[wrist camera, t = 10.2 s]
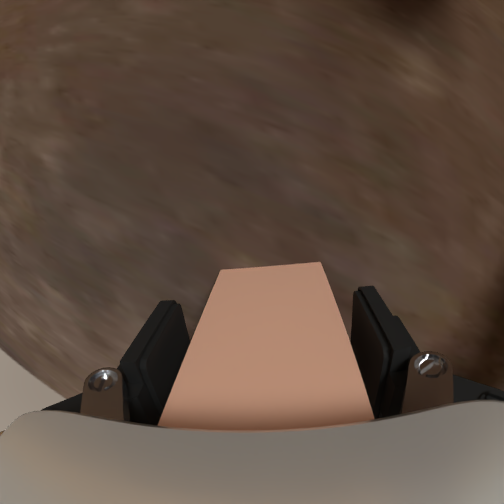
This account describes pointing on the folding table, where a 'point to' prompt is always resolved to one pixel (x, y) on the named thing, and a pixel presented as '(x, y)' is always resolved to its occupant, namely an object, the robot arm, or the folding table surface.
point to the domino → (268, 356)
